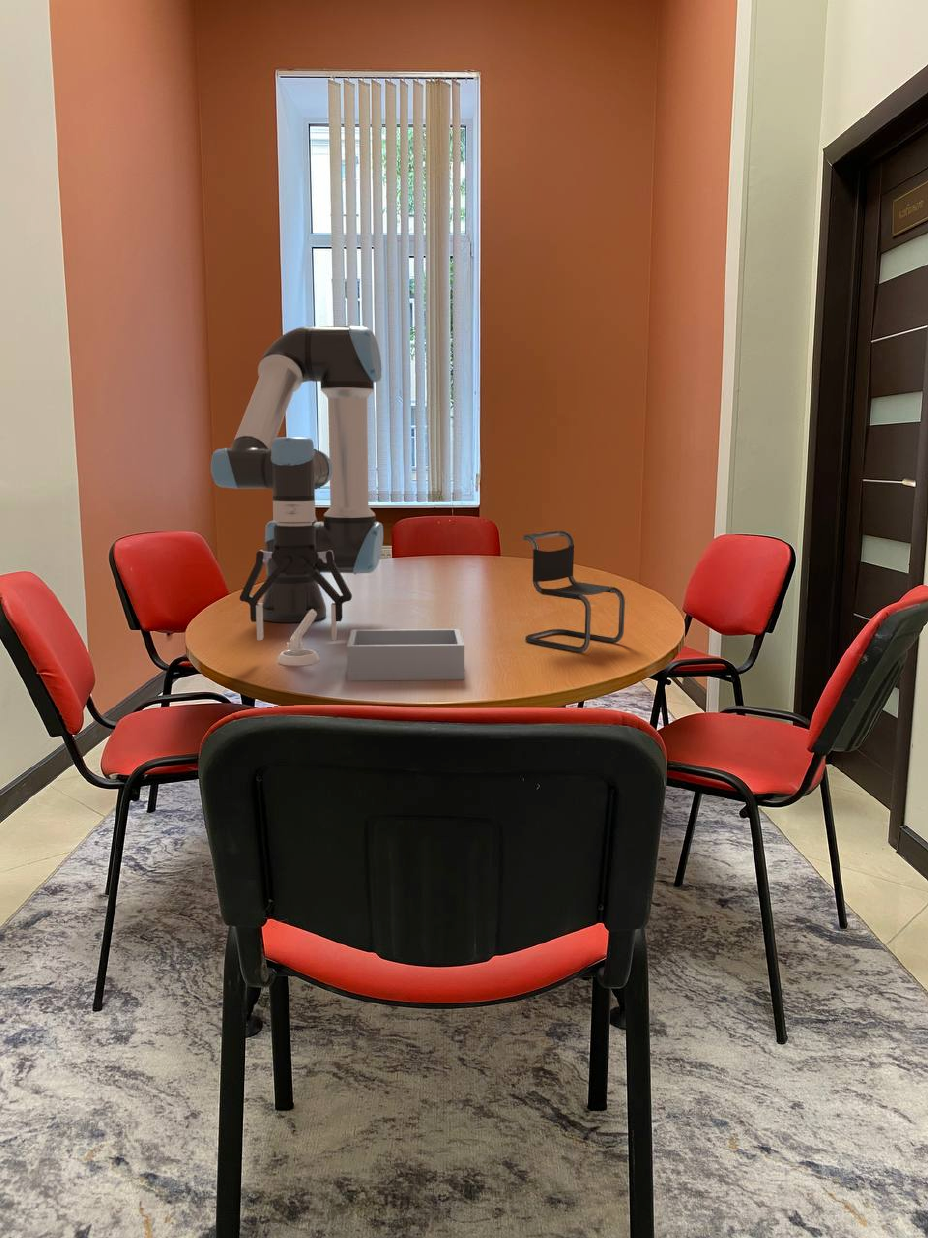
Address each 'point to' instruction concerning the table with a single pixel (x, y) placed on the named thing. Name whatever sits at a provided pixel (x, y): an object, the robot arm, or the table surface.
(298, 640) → the white ring with handle
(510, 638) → the table surface
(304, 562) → the robot arm
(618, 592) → the chair
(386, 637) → the well
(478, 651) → the table surface
